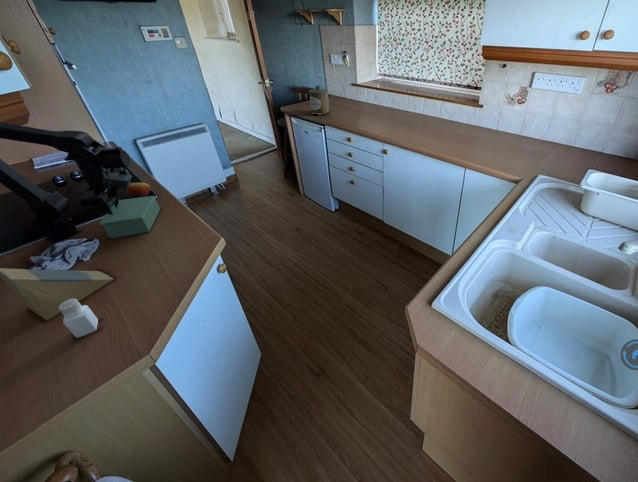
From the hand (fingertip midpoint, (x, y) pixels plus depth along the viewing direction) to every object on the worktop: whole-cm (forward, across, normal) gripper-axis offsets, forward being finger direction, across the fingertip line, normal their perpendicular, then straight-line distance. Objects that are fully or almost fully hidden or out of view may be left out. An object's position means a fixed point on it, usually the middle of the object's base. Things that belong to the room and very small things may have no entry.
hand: (113, 209), depth 105 cm
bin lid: (+1, 0, -4) cm, 4 cm away
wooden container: (+6, +128, -97) cm, 161 cm away
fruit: (+8, +22, 0) cm, 23 cm away
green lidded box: (+7, 0, -4) cm, 8 cm away
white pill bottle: (+7, -48, -7) cm, 49 cm away
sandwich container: (+8, -33, +1) cm, 34 cm away
